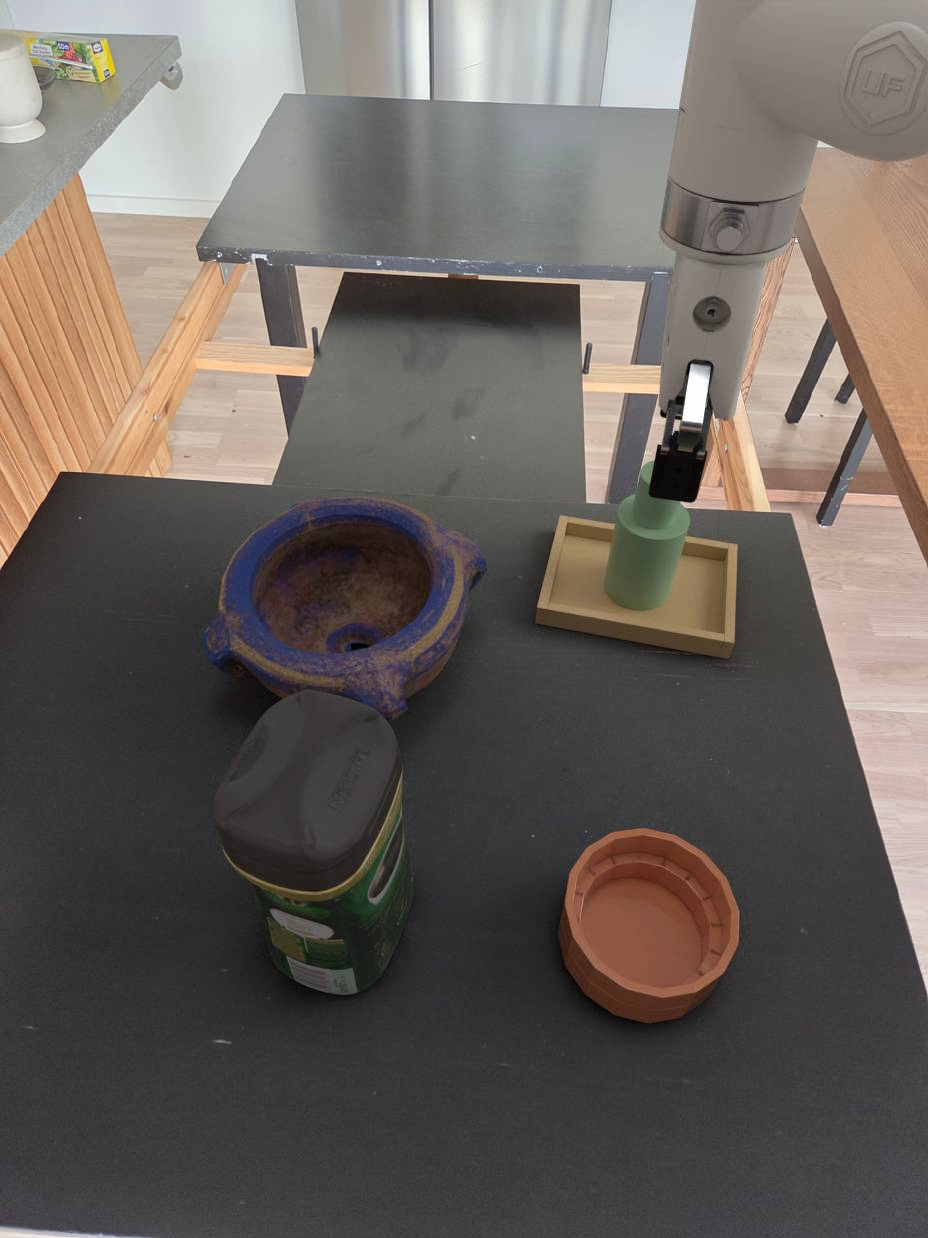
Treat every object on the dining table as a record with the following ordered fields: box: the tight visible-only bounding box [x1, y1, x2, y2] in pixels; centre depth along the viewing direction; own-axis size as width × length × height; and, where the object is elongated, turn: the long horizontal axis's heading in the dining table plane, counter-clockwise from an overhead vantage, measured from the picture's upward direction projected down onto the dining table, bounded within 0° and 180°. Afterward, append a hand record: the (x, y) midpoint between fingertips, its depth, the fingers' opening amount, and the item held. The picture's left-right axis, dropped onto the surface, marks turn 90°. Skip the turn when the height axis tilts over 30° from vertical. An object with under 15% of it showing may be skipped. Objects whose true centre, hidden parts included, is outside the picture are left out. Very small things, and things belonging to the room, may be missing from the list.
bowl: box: [201, 496, 488, 723], centre depth 63 cm, size 18×18×10 cm
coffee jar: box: [212, 689, 416, 996], centre depth 46 cm, size 10×8×19 cm
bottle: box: [604, 460, 691, 610], centre depth 67 cm, size 6×6×12 cm
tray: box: [534, 515, 739, 660], centre depth 71 cm, size 16×12×2 cm
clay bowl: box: [557, 827, 740, 1024], centre depth 50 cm, size 10×10×5 cm
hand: (676, 455), depth 61 cm, fingers open, 9 cm apart
